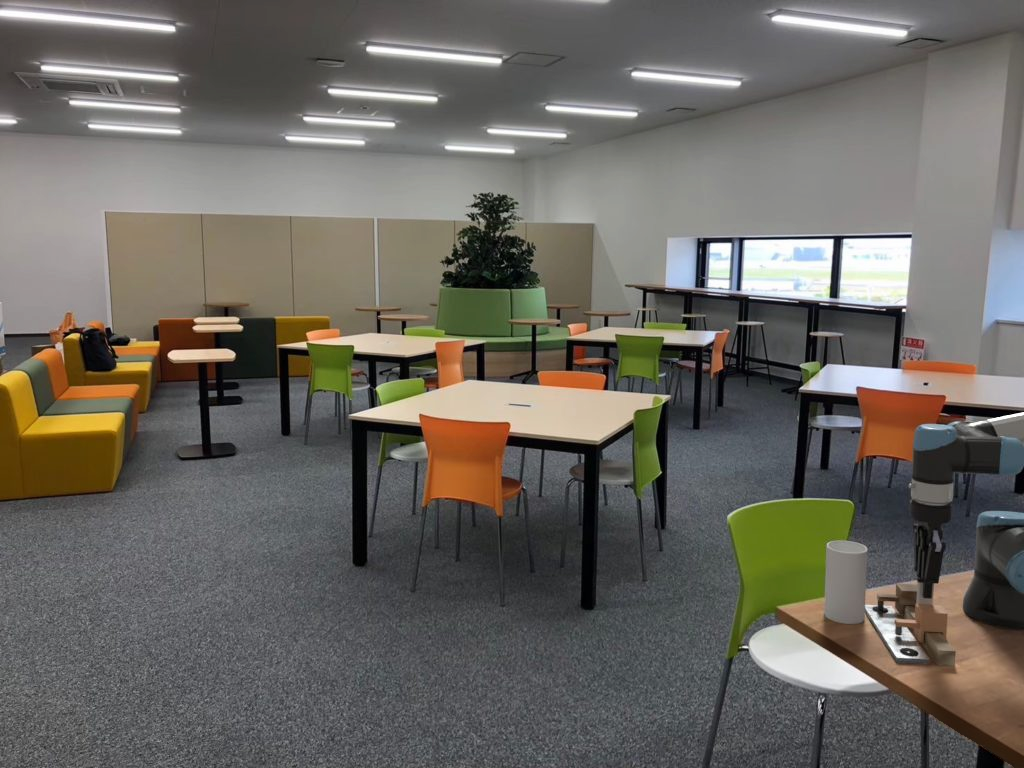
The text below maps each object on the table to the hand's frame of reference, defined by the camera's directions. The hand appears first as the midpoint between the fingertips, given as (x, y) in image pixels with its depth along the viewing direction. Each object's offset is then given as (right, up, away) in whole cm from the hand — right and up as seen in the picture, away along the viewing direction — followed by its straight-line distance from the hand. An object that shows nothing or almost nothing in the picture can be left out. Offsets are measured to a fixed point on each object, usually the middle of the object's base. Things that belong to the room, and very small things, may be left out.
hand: (924, 610), depth 163 cm
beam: (0, -6, +1) cm, 6 cm away
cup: (-12, -5, +11) cm, 17 cm away
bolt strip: (-5, -5, +2) cm, 8 cm away
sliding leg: (-2, -5, -2) cm, 6 cm away
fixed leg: (0, -3, +11) cm, 11 cm away
